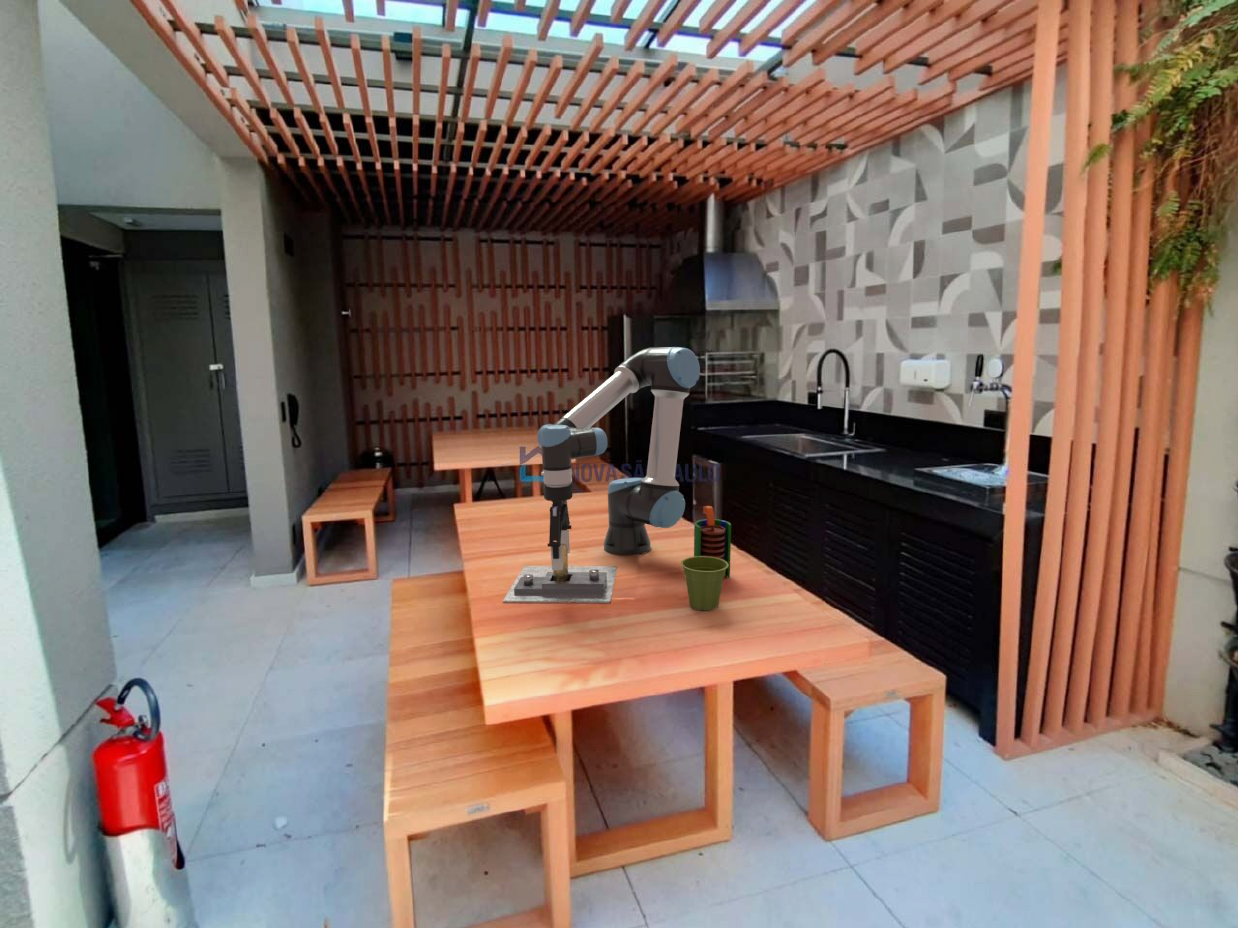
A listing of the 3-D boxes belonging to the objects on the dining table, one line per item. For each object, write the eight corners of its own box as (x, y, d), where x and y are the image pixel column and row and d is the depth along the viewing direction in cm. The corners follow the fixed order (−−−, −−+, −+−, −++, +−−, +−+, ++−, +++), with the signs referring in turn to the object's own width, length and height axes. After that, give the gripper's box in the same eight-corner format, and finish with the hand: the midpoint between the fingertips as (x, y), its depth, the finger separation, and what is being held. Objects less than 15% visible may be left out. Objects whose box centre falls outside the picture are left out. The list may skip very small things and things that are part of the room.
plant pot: (716, 618, 159) (716, 574, 157) (672, 609, 165) (672, 566, 163) (735, 602, 169) (735, 560, 167) (693, 593, 175) (693, 553, 173)
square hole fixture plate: (617, 567, 196) (617, 550, 195) (610, 603, 170) (609, 582, 169) (524, 567, 198) (523, 549, 197) (502, 602, 171) (501, 582, 170)
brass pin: (569, 585, 181) (568, 543, 179) (567, 590, 177) (566, 548, 175) (555, 585, 181) (553, 543, 179) (552, 590, 177) (551, 548, 175)
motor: (704, 584, 181) (705, 514, 178) (686, 575, 189) (686, 507, 185) (734, 578, 186) (735, 509, 182) (715, 568, 194) (716, 502, 190)
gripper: (551, 474, 186) (554, 546, 190) (534, 495, 162) (538, 577, 166) (577, 474, 186) (580, 546, 190) (564, 495, 161) (568, 577, 165)
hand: (561, 560), depth 178 cm, fingers open, 13 cm apart
